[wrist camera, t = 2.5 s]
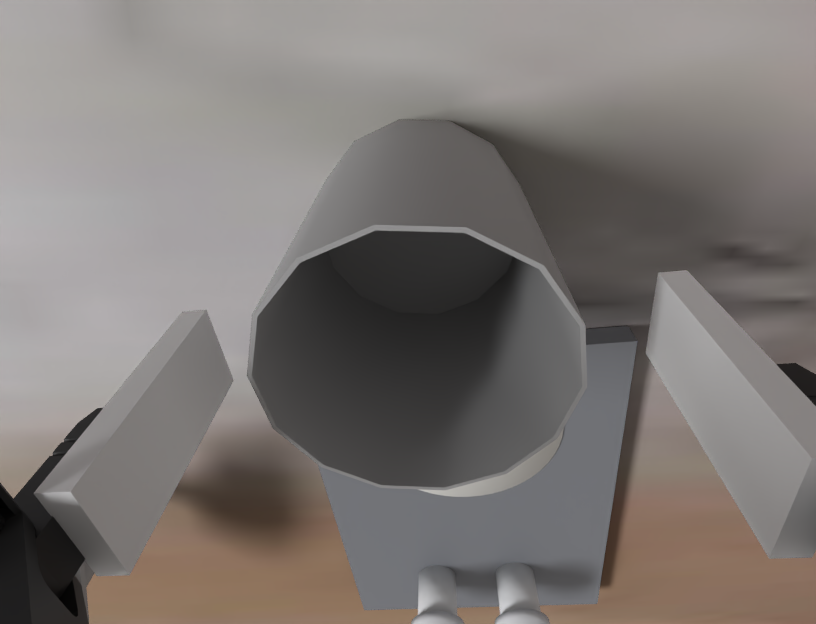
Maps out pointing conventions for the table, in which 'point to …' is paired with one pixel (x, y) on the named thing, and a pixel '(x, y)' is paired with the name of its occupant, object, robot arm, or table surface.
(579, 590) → the board
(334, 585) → the table surface
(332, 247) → the cup
